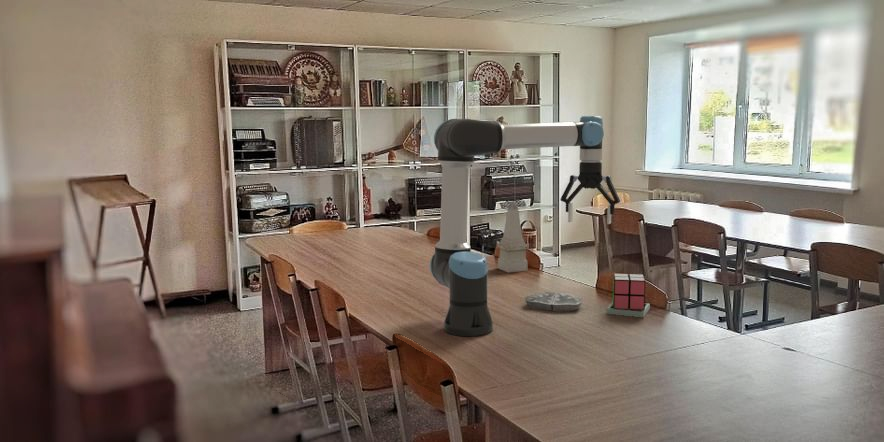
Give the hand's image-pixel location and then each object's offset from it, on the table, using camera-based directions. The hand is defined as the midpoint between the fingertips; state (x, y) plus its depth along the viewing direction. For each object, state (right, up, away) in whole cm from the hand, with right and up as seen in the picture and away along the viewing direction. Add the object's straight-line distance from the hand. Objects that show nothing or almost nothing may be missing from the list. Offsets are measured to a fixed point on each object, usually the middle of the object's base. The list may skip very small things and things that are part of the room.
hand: (589, 222), depth 241 cm
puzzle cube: (+12, -28, -7) cm, 31 cm away
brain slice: (-12, -30, +1) cm, 32 cm away
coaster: (+12, -30, -7) cm, 33 cm away
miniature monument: (-20, -21, +62) cm, 69 cm away
